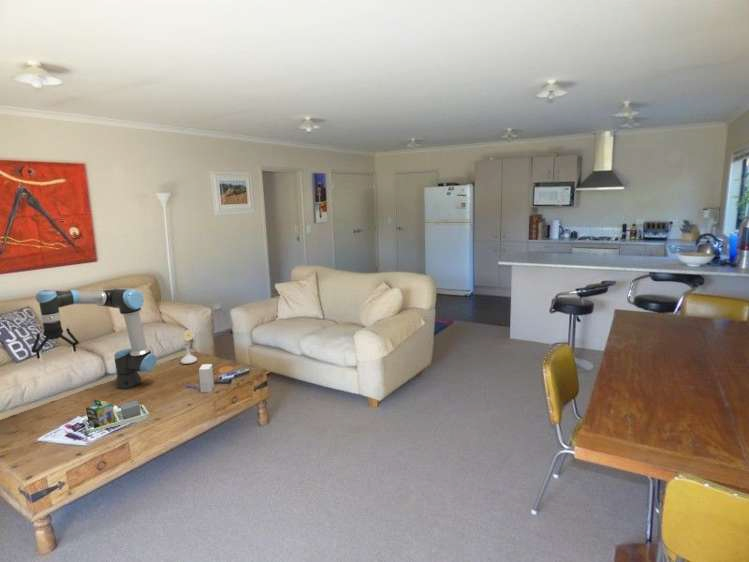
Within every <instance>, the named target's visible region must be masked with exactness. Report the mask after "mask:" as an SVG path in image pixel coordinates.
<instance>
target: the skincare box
mask: <svg viewBox="0 0 749 562" xmlns="http://www.w3.org/2000/svg"><path fill="white" fill-rule="evenodd" d="M198 374H199V376H198V377H199V385H200V388H199V389H200V393H201V394H202V393H203V392H204V393H212V391H213V389H214V387H215V383H214V380H215V379H214V371H213V364H212V363H206V364H205V363H204V364H201V366H200V367H199V368H198Z"/></svg>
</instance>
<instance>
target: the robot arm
mask: <svg viewBox="0 0 749 562" xmlns="http://www.w3.org/2000/svg"><path fill="white" fill-rule="evenodd" d="M35 299H36V302H37V303H38V305H39V310H40V314H41V315H40V316H41V321H42V327H43V332H38V331H37V332H36V337H35V340H34V343H33V345H32V346H31V347H32V348H31V353H35V354H36V358H37V360H39V361H40V365H41V366H43V365H44V362H43V357H42V352H41V350H42V349H43V348H44V346H45V345H46V343H47V342H49V340H58V339H59V338H60V339H62V340H63V341H65V342H66V343H68V344H70V350H71V351H70V352H71V355H72V356H71V357H72V359H75V352H77V348H76V347H77V345H78V344H80V342H79V340H78V339H77V338H76V337H75V335H74V334H73V333H72V332H71V331H70V328H69V327H65V328H62V323H61V316H60V308H63V307H68V306H72V305H96V306H98V307H108V308H114V309H119V314H120V315H123V318H124V323H125V326H126V330H127V336H128V339H129V343H130V348H125V349H122V350H119V351H117V352H115V353H114V356H113V357H114V359H113V360H114V365H115V370H116V371H115V372H116V379H115V383H114V387H115V389H117V390H127V389H126V388H128V389H131V387H132V388H135V387H137V385H138V386H139V384H140V383H141V382H142V377H141V376H140V374H139V372H141V373H149V372H151V371H153V370H154V369H155V366H156V365H157V356H156V355H155V354H154V353H152V351H151V348H150V347H148V345H147V341H146V338H145V332H144V329H143V324H142V323H143V322H142V319H141V315H140V312H141V310H142V306H143V305H144V301H145V299H144V296H143V294H142V293H141V292H140V291H139V290H136V289H131V288H129V289H126V288H125V289H123V288H121V289H120V288H114V289H113V288H111V289H99V290H97V291H89V290H88V291H86V290H85V291H84V290H83V291H82V290H80V291H79V290H76V289H68V290H47V289H44V290H43V289H42V290H39V291H38V292H37V293H36V295H35ZM64 332H65V333H67V334H68V336H69V337H70V338H71V339H72V340H71V339H69V338H68V337H67V336H65V335H63V333H64ZM43 336H44V339H43V341H41V343H40V344H39V345H38V343H39V342H40V339H41V337H43ZM37 346H38V347H37ZM141 384H142V383H141ZM134 386H135V387H134Z"/></svg>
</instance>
